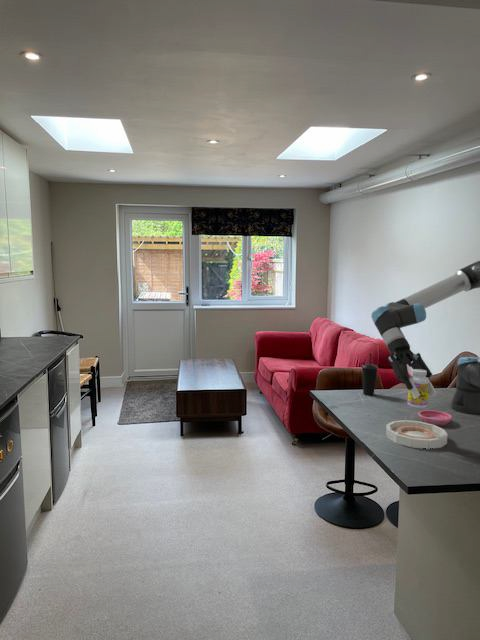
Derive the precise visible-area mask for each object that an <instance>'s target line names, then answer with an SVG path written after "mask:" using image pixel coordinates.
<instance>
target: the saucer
mask: <svg viewBox="0 0 480 640" xmlns="http://www.w3.org/2000/svg"><path fill="white" fill-rule="evenodd" d="M417 415H418V417H419V418H420V420H421V422H424V423H428V424H433V425H435V426H438V427H440V426H441V427H442V426H448V424H449V423H450V422H452V420H453V416H452V414H449V413H448V412H444V411H441V410H433V409H432V410H431V409H425V410H420V411H419V412H418V414H417Z"/></svg>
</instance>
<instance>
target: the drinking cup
mask: <svg viewBox="0 0 480 640" xmlns="http://www.w3.org/2000/svg"><path fill="white" fill-rule="evenodd" d="M368 360H369V361H368V362H369V363H366V364H362V365H361V372H362V373H361V374H362V394H363V395H364V394H365V395H364V396H367V395H370V397H372V396H374V394H375V390H376V389H375V387H376V381H377V380H376V379H377V373H378V369H379V367H378V366H377V365H375V364H374V363H372V353H371V352H370V353H369V359H368Z"/></svg>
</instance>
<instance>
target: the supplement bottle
mask: <svg viewBox="0 0 480 640" xmlns="http://www.w3.org/2000/svg"><path fill="white" fill-rule="evenodd" d="M426 375H427V371H426V370H423V369H413V368H412V375H411V376H409V380H410V379H412V380H413V382H414V384H415V386H416V388H417V390H418V391H419V393H420V396H419V397H418V398H417V399H414V397H413V396H412V394H411V392H410V390H408V392H407V393H408V394H407V405H408V406H409V407H412V408H417V409H425V408H426V407H427V406H428V401H429V393H428V390H429V379H428V378H426Z"/></svg>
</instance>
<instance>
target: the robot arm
mask: <svg viewBox="0 0 480 640" xmlns="http://www.w3.org/2000/svg"><path fill="white" fill-rule="evenodd" d="M479 288H480V260H477V261H474V262H473V263H470V264H468V265H466V266H464V267H462V268H460V269H458V270H456V271H455V273H454V274H453V275H450V276H448V277H446V278H445V279H442V280H440V281H438V282H436V283H433V284H432V285H430V286H428V287H425V288H423V289H421V290H419V291H417V292H415V293H412V294H410V295H408V296H406V297H404V298H401V299H399V300H396V301H395V302H393V301H391V302H388V303H386V304H385V305H384V306H383V305H382V306H379V307H377V308H375V309H374V310H373V311H372V313H371V318H372V322H373V323H374V326H375V328H376V329H377V330H378V333H379V334H380V336H381V338H382V341H383V342H384V344H385V346H386V347H387V350H388V352H389V353H390V355H389V357H388V358H387V360H388V362H389V364H390V365H391V367H392V369H393V373H394V375H395V377H396V379H397V381H398V382H400V383H401V384H402V385H405V386H406V388H407V389H408V390H410V392H411V394H412V396H413V397H414V399H417V398H418V397H419V396H420V393H419V391H418V390H417V388H416V386H415V384H414V382H413V380H412V379H410V380H409V378H410V375H409V371H408V367H410V368H412V370H413V369H423V370H426V371H427V375H426V378H428V379H429V390H428V396H429V397H430V398H433V397H434V396H435V395H436V394H437V391H436V390H435V388H434V384H433V382H432V380H431V377H432V376H433V373H432V371H431V370H430V368H429V367H428V366H427V364H426V363H425V361H424V360H423V358H422V356H421V353H420V352H417V353H414V352H412V350H411V346H410V343H409V341H408V339H406V336H405V335H404V333H403V331H402V329H401V328H405V327H409V326H412V325H416V324H419V323H422V322H424V321H426V318H427V312H426V309H427V308H429V307H431V306H433V305H435V304H437V303H440V302H442V301H444V300H446V299H448V298H450V297H453V296H455V295H457V294H459V293H461V292H469V291H471V290H475V289H479ZM456 366H457V370H456V371H457V373H456V385H455V386H456V387H455V392H454V394H453V395H452V399H451V400H450V408H451V409H453V410H455V411H457V412H461V413H465V414H472V415H480V356H461V357H459V358H458V361H457V365H456Z"/></svg>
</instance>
